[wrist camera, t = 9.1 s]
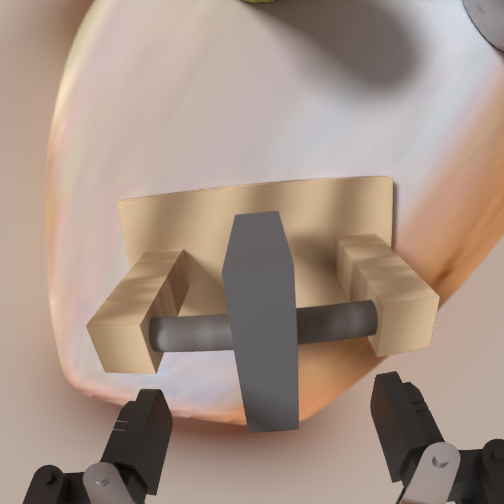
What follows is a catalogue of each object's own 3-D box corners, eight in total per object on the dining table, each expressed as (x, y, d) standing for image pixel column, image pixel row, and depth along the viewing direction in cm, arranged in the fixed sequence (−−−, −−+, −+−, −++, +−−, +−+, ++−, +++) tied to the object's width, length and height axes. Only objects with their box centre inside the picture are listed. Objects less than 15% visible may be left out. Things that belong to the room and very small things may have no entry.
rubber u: (278, 210, 19) (294, 265, 11) (286, 339, 22) (298, 429, 14) (235, 214, 19) (221, 271, 11) (250, 342, 22) (248, 432, 14)
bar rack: (387, 175, 22) (474, 213, 12) (381, 305, 26) (435, 393, 16) (121, 200, 23) (38, 252, 13) (151, 324, 27) (107, 417, 16)
